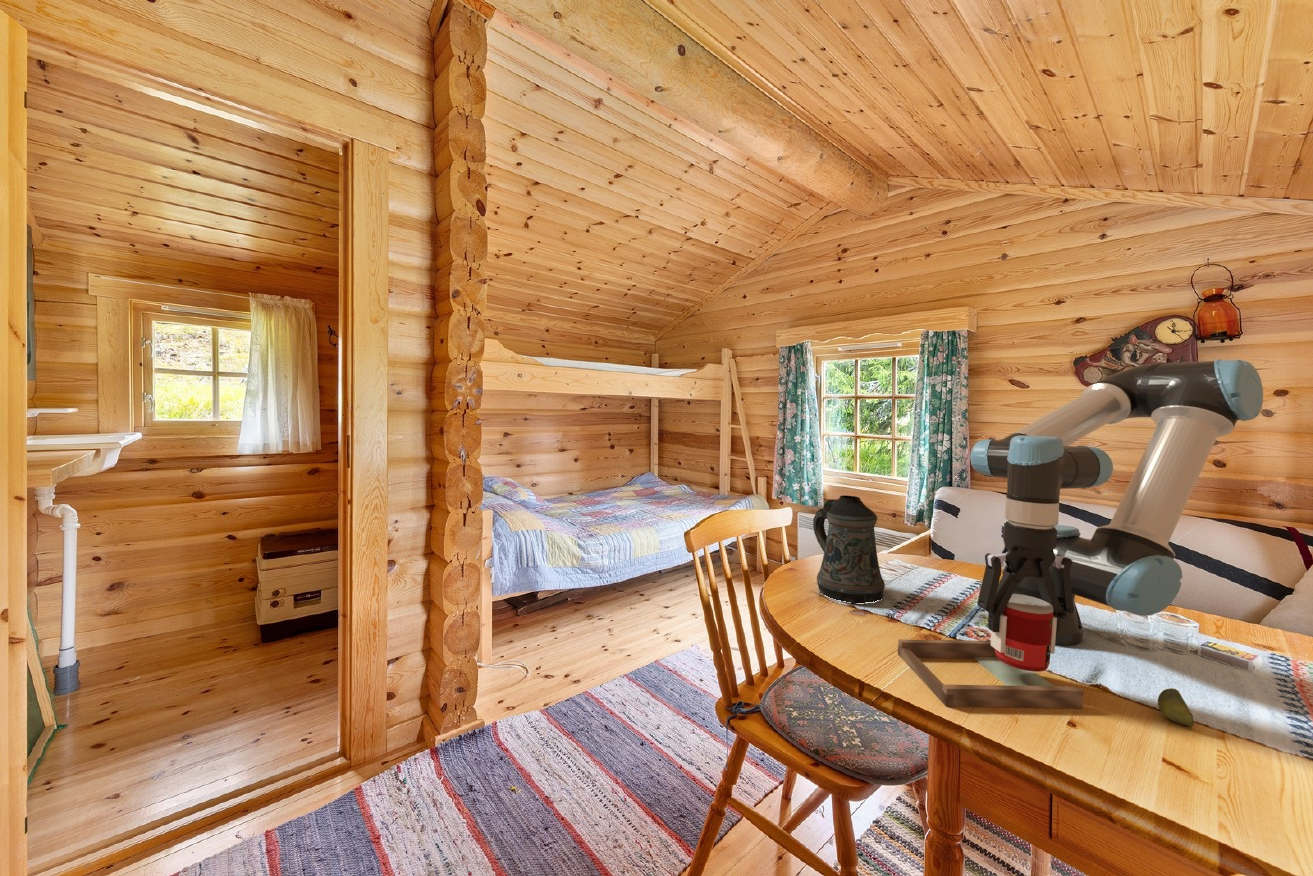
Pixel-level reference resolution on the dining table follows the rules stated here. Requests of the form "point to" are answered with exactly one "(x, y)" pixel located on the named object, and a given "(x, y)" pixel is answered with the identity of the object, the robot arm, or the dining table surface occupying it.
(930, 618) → the dining table surface
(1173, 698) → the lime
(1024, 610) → the canned food
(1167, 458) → the robot arm
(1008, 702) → the bay
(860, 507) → the beer stein
